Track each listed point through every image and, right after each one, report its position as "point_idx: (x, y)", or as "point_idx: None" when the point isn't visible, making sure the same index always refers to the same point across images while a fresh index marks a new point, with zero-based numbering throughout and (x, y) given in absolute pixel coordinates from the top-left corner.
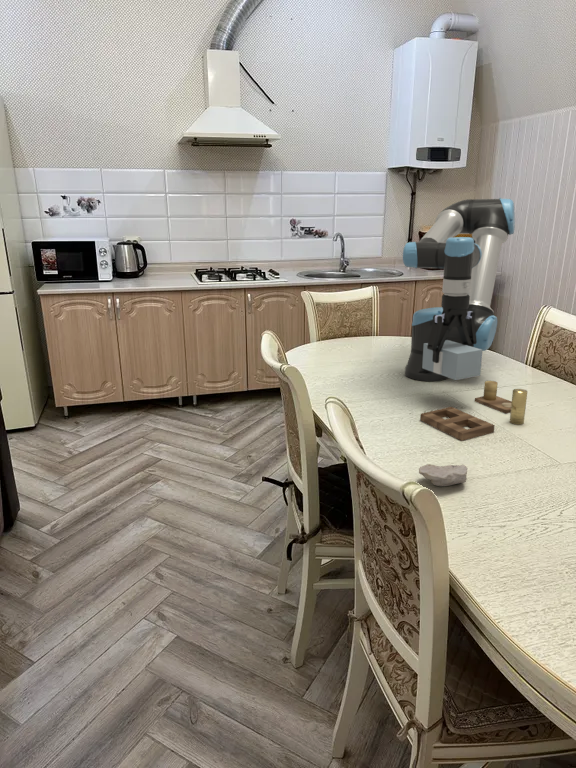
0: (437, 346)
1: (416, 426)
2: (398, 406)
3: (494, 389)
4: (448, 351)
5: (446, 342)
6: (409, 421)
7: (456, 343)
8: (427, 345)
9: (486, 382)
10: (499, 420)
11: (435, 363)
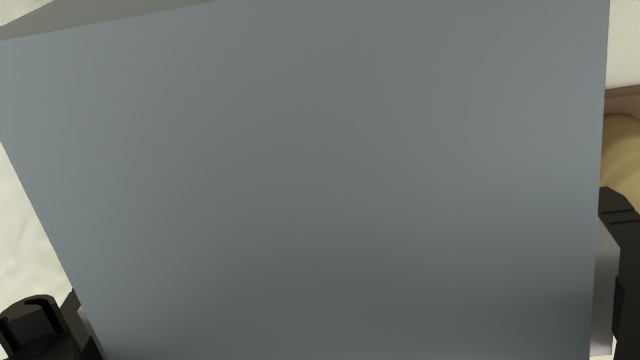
0: (131, 297)
1: (37, 280)
2: (10, 11)
3: None
4: None
5: (430, 126)
6: (19, 225)
7: (537, 249)
8: (12, 149)
9: (630, 193)
10: None
11: None
